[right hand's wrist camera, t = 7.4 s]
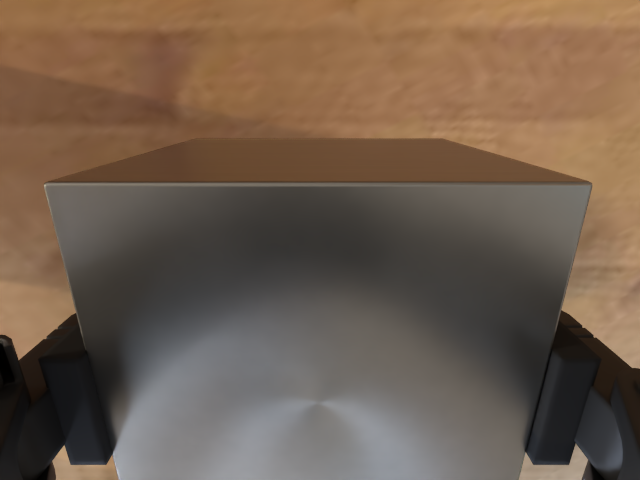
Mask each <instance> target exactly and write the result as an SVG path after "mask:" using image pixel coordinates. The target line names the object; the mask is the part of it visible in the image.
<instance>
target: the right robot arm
mask: <svg viewBox="0 0 640 480" xmlns="http://www.w3.org/2000/svg"><path fill="white" fill-rule="evenodd" d="M575 443H576V444H577V445H578V447H579V448H580V449H581V450H582V452H583V453H584V454H585V456H586V457H587V458H588V462H587V465H586V468H585V471H584V474H583V477H582V480H640V369H638V368H631V367H630V366H629V365H628V364H627V363H626V362H624V361H623V360H622V359H621V358H620V357H618V356H617V355H616V354H615V353H614V352H613V351H611V350H610V349H609V348H608V347H607V346H606V345H604V344H603V343H602V342H601V341H600V340H598V339H597V338H594V337H593V334H591V333H590V332H589V331H588V330H587V329H586V328H582V325H581V324H580V323H578V322H577V321H576V320H575V319H574V318H573V317H571V316H570V315H569V314H567V313H565V312H564V311H562V310H561V313H560V317H559V321H558V325H557V329H556V333H555V337H554V341H553V345H552V349H551V353H550V356H549V360H548V364H547V368H546V372H545V376H544V380H543V384H542V388H541V392H540V396H539V400H538V404H537V408H536V412H535V416H534V420H533V424H532V428H531V432H530V436H529V440H528V444H527V448H526V453H527V454H528V456H529V458H530V460H531V461H532V463H533V465H569V463H570V460H571V456H572V453H573V450H574V447H575ZM64 444H65V448H66V451H67V454H68V457H69V461H70V464H71V465H106V464H107V462H108V461H109V459H110V457H111V456H112V454H113V452H112V448H111V445H110V441H109V437H108V433H107V429H106V425H105V421H104V417H103V413H102V409H101V405H100V401H99V397H98V393H97V390H96V386H95V382H94V378H93V374H92V370H91V366H90V362H89V358H88V354H87V350H86V349H85V346H84V342H83V338H82V334H81V330H80V326H79V322H78V318H77V314H76V313H75V314H73V315H71V316H70V317H69V318H68V319H67V320H66V321H64V322H63V323H62V324H61V325H60V326H59V327H58V329H55V330H54V331H53V332H52V333H50V334H49V335H48V336H47V338H46V339H43V340H42V341H41V342H40V343H39V344H38V345H36V346H35V347H34V348H33V349H32V350H31V351H29V352H28V353H27V354H26V355H25V356H24V357H22V358H21V359H20V360H18V357H17V354H16V351H15V348H14V345H13V342H12V339H11V338H9V337H7V336H6V335H0V480H56V475H55V468H54V465H53V462H52V460H53V459H54V458H55V456H56V455H57V454H58V452H59V451H60V450H61V448H62V447H63V446H64Z"/></svg>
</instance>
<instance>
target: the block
mask: <svg viewBox="0 0 640 480" xmlns="http://www.w3.org/2000/svg"><path fill="white" fill-rule="evenodd" d="M44 189H45V193H46V197H47V201H48V205H49V208H50V212H51V216H52V220H53V224H54V228H55V232H56V236H57V240H58V244H59V248H60V252H61V255H62V259H63V263H64V267H65V271H66V275H67V279H68V283H69V287H70V291H71V295H72V299H73V302H74V306H75V310H76V314H77V318H78V322H79V326H80V330H81V334H82V338H83V342H84V346H85V349H86V350H87V354H88V358H89V362H90V366H91V370H92V374H93V378H94V382H95V386H96V390H97V393H98V397H99V401H100V405H101V409H102V413H103V417H104V421H105V425H106V429H107V433H108V437H109V441H110V445H111V448H112V452H113V454H112V455H113V459H114V463H115V467H116V471H117V475H118V479H119V480H519V476H520V472H521V468H522V464H523V460H524V456H525V452H526V448H527V444H528V440H529V436H530V432H531V428H532V424H533V420H534V416H535V412H536V408H537V404H538V400H539V396H540V392H541V388H542V384H543V380H544V376H545V372H546V368H547V364H548V360H549V356H550V353H551V349H552V345H553V341H554V337H555V333H556V329H557V325H558V321H559V317H560V313H561V309H562V305H563V301H564V297H565V293H566V289H567V285H568V281H569V277H570V273H571V269H572V265H573V261H574V257H575V253H576V249H577V245H578V241H579V237H580V233H581V229H582V225H583V221H584V217H585V213H586V210H587V206H588V202H589V198H590V194H591V190H592V183H591V182H589V181H586V180H582V179H579V178H576V177H572V176H569V175H565V174H562V173H558V172H555V171H552V170H548V169H545V168H541V167H538V166H534V165H531V164H528V163H524V162H521V161H517V160H514V159H510V158H507V157H504V156H500V155H497V154H493V153H490V152H487V151H483V150H480V149H476V148H473V147H469V146H466V145H463V144H459V143H456V142H452V141H449V140H445V139H193V140H189V141H186V142H182V143H179V144H175V145H172V146H169V147H165V148H162V149H158V150H155V151H151V152H148V153H144V154H141V155H137V156H134V157H130V158H127V159H123V160H120V161H117V162H113V163H110V164H106V165H103V166H99V167H96V168H92V169H89V170H85V171H82V172H78V173H75V174H71V175H68V176H65V177H61V178H58V179H54V180H51V181H48V182H45V183H44Z"/></svg>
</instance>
